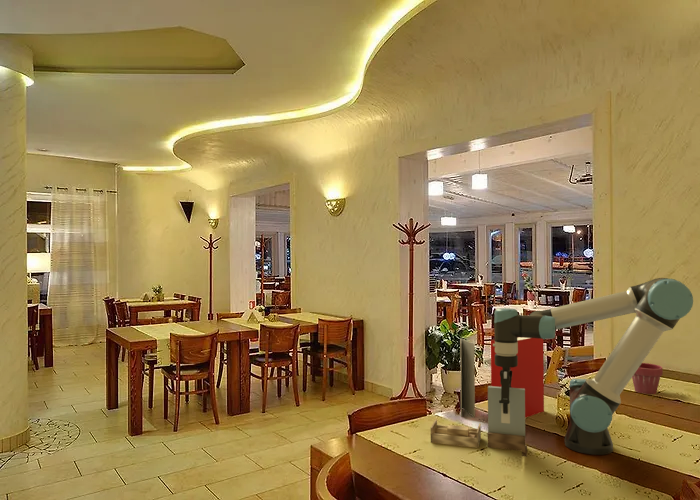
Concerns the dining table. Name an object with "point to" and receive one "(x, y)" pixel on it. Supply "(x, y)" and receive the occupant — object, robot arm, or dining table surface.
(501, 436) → the stand
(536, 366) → the book
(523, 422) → the grey panel
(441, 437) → the tray
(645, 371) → the plant pot
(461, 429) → the offcut
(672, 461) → the dining table surface
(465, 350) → the tall grey block
